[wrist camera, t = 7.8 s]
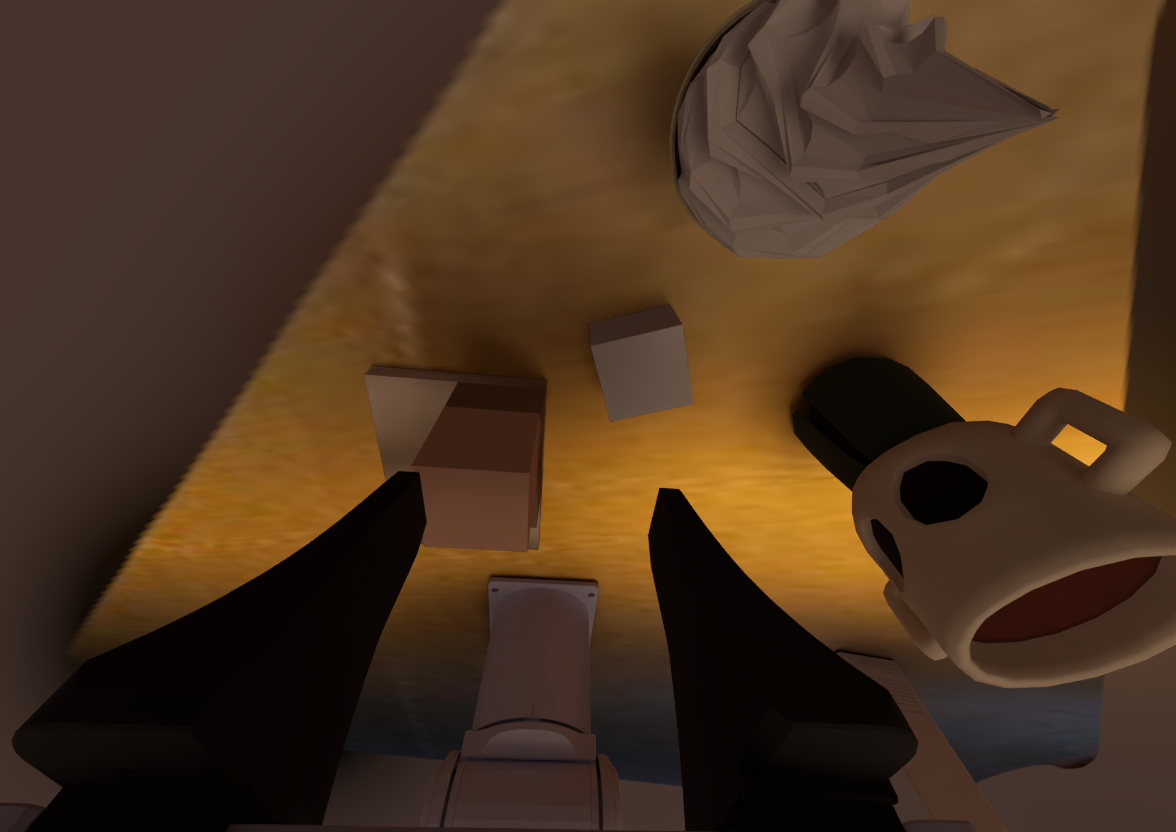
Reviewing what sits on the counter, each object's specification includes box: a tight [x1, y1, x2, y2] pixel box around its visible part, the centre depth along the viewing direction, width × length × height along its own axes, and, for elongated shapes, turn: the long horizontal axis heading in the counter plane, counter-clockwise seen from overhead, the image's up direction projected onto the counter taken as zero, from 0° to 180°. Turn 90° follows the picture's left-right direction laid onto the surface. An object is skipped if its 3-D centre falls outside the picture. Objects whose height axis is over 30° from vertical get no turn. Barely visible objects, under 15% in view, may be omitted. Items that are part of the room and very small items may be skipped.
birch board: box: [364, 366, 547, 550], centre depth 25 cm, size 12×9×1 cm
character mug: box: [793, 358, 1176, 688], centre depth 18 cm, size 11×7×13 cm, turn 171°
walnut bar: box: [445, 382, 546, 528], centre depth 22 cm, size 7×4×3 cm, turn 175°
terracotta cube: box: [411, 406, 539, 552], centre depth 18 cm, size 4×4×4 cm
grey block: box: [590, 304, 693, 421], centre depth 20 cm, size 4×4×3 cm
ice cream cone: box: [669, 0, 1059, 258], centre depth 10 cm, size 5×5×15 cm
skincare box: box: [836, 652, 1007, 832], centre depth 32 cm, size 6×4×12 cm
